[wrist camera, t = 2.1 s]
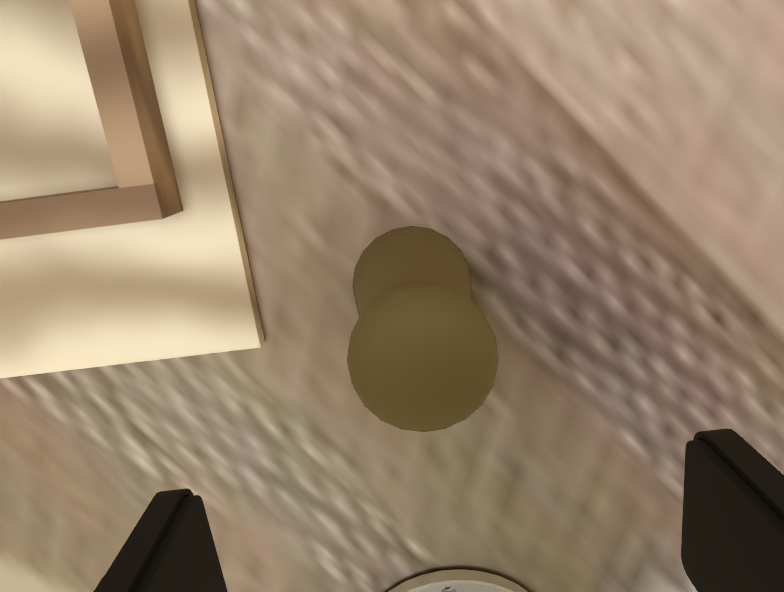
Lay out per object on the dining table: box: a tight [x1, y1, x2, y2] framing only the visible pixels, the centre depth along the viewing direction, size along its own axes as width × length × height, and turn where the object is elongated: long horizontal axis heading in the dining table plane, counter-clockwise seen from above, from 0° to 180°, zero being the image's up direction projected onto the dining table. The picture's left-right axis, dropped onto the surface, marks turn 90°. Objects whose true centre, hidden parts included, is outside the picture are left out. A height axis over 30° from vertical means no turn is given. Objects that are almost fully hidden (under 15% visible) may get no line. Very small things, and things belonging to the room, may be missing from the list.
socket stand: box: [0, 0, 265, 378], centre depth 25 cm, size 20×16×4 cm
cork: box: [347, 226, 498, 432], centre depth 23 cm, size 6×6×11 cm
